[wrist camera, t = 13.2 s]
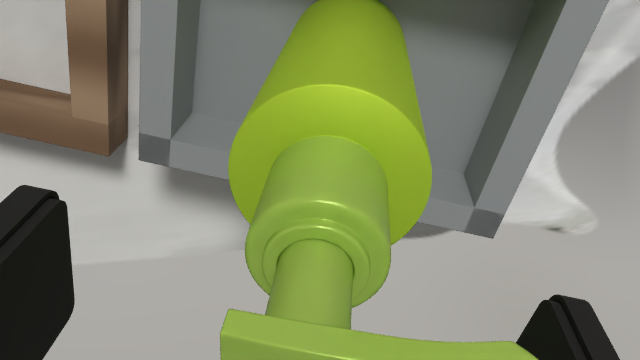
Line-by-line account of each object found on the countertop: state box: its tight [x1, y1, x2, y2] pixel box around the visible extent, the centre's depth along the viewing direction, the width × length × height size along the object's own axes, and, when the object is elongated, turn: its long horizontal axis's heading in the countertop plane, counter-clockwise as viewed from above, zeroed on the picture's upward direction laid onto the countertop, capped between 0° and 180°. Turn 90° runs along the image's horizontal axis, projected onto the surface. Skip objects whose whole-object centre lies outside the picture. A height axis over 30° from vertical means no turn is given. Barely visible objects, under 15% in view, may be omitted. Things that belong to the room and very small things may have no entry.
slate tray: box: [139, 0, 609, 238], centre depth 25 cm, size 14×19×4 cm
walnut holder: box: [0, 0, 128, 156], centre depth 26 cm, size 13×12×2 cm
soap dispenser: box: [220, 0, 538, 360], centre depth 17 cm, size 6×7×20 cm
